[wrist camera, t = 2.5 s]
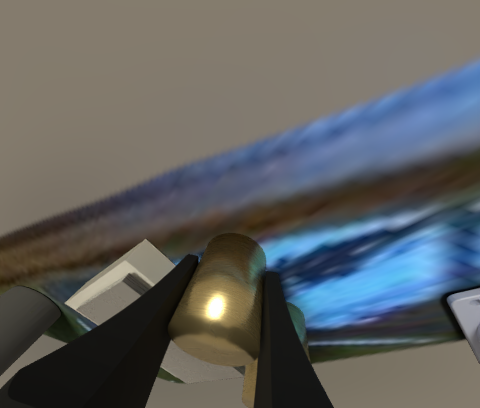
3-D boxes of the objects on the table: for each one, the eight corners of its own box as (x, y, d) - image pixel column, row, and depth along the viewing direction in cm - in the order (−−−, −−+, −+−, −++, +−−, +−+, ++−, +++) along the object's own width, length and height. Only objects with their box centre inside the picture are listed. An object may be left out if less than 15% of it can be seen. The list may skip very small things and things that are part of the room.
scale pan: (129, 272, 11) (121, 281, 10) (246, 367, 14) (245, 376, 14) (83, 302, 14) (75, 309, 13) (189, 375, 17) (186, 383, 17)
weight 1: (239, 222, 11) (214, 303, 6) (278, 266, 12) (278, 360, 7) (194, 248, 12) (150, 326, 8) (231, 285, 13) (210, 370, 9)
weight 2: (285, 293, 13) (290, 388, 9) (314, 325, 14) (331, 423, 10) (242, 307, 15) (227, 393, 10) (270, 334, 16) (268, 422, 11)
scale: (145, 238, 13) (123, 262, 11) (256, 338, 16) (254, 368, 14) (86, 282, 17) (62, 304, 15) (185, 354, 21) (175, 379, 19)
